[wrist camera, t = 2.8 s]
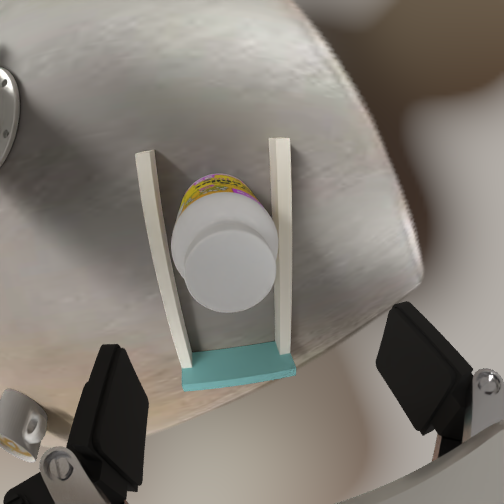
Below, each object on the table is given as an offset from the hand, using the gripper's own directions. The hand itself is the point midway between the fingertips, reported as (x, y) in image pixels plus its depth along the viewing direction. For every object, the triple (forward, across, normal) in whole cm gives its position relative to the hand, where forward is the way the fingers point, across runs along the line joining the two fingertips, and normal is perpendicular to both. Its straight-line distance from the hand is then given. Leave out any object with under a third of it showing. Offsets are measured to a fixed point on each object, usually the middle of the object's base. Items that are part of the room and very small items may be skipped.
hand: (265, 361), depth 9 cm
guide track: (+19, +1, +7) cm, 20 cm away
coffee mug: (+18, +40, +30) cm, 53 cm away
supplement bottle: (+19, +1, 0) cm, 19 cm away
